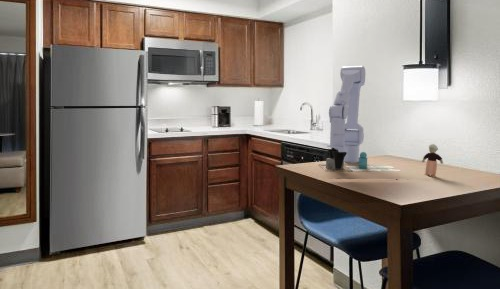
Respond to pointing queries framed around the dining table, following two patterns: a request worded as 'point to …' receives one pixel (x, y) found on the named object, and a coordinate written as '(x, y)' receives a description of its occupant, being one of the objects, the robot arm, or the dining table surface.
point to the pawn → (362, 161)
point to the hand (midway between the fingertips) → (336, 167)
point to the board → (378, 168)
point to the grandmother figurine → (432, 161)
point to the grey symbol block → (332, 163)
